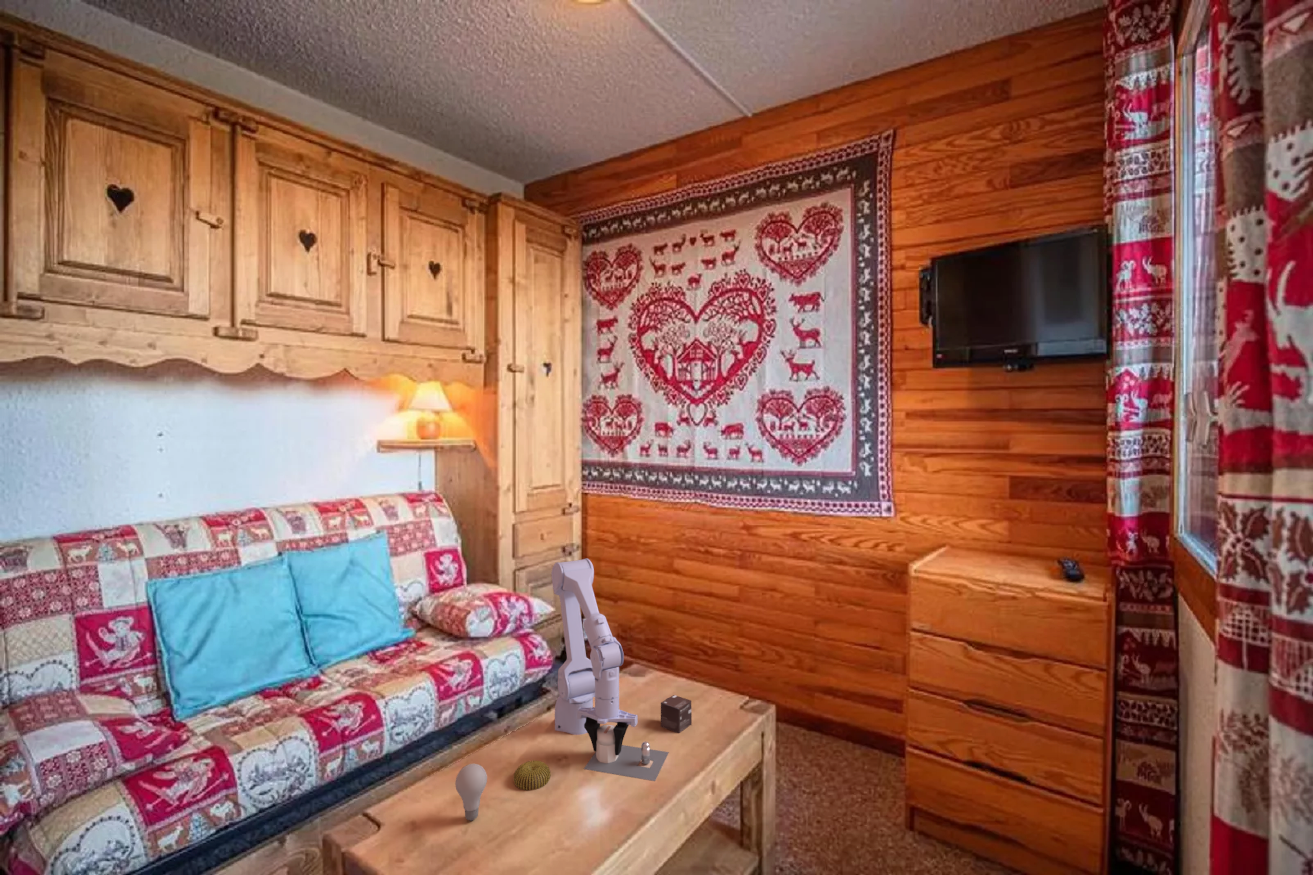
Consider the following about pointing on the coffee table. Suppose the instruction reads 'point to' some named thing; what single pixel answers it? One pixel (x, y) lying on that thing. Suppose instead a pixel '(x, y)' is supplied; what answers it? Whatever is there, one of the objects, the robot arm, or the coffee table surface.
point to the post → (645, 753)
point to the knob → (605, 744)
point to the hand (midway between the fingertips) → (607, 751)
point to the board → (630, 764)
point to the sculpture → (532, 774)
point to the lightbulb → (471, 788)
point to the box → (676, 713)
